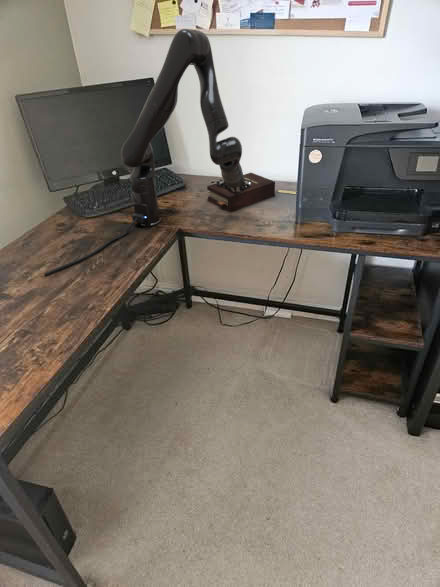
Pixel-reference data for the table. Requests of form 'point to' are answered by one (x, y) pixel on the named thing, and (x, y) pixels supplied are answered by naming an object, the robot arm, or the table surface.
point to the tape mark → (287, 192)
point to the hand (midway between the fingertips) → (237, 192)
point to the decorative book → (242, 193)
